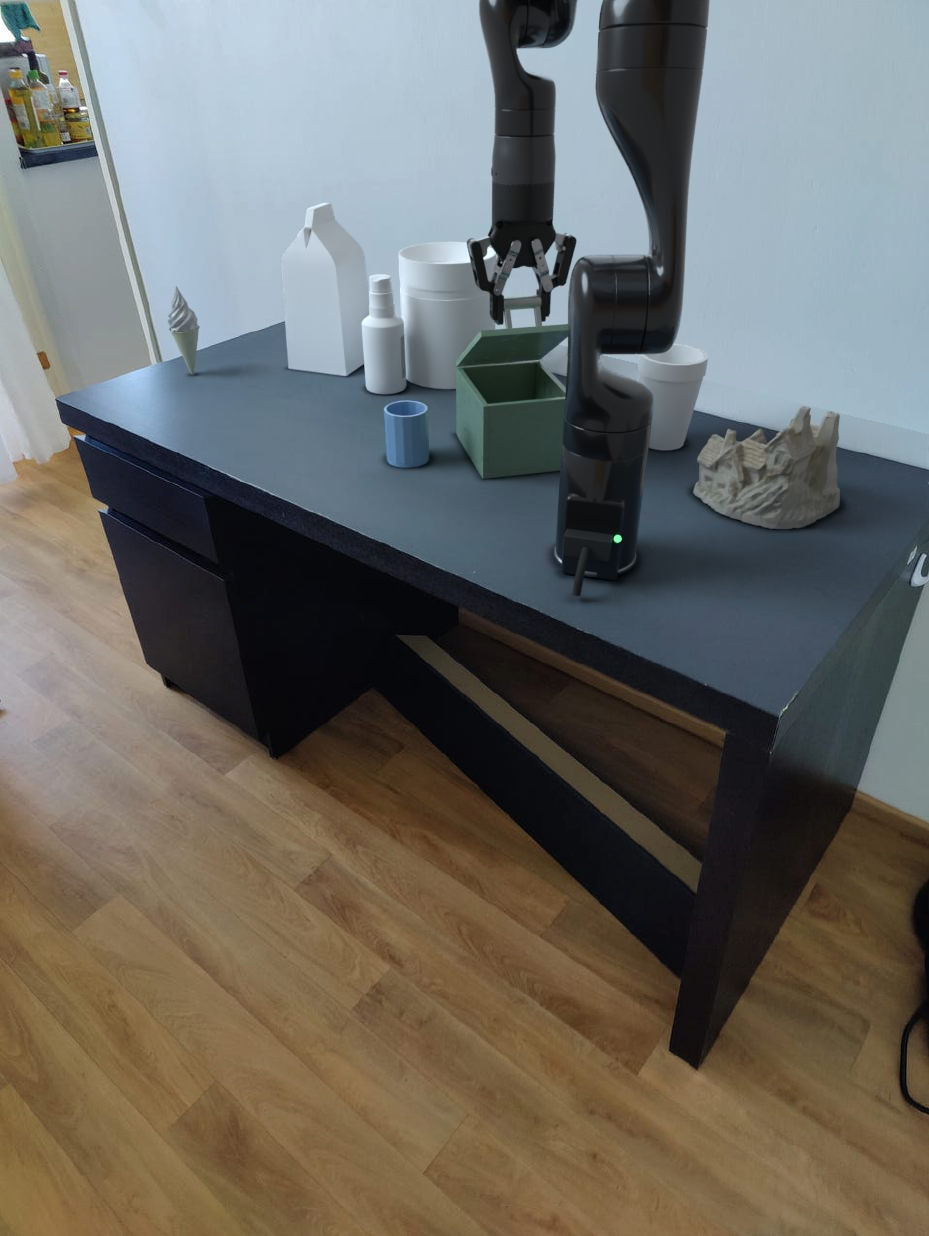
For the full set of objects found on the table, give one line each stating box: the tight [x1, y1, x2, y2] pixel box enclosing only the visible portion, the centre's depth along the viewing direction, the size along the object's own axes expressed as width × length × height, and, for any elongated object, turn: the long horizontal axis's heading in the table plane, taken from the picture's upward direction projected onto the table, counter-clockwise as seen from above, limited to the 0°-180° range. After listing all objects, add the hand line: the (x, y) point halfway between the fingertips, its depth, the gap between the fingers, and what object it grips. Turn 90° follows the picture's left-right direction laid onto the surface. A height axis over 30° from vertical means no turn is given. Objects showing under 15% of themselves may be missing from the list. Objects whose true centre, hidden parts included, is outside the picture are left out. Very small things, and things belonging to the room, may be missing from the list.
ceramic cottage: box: [692, 405, 841, 530], centre depth 111 cm, size 16×16×15 cm
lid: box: [456, 294, 568, 367], centre depth 120 cm, size 16×13×5 cm
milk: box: [280, 202, 370, 377], centre depth 153 cm, size 12×12×26 cm
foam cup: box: [637, 343, 709, 451], centre depth 127 cm, size 10×9×13 cm
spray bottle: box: [362, 273, 407, 395], centre depth 144 cm, size 7×7×18 cm
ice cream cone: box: [167, 285, 200, 376], centre depth 151 cm, size 5×5×15 cm
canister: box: [397, 241, 497, 390], centre depth 150 cm, size 16×16×20 cm
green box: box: [455, 360, 566, 480], centre depth 125 cm, size 16×13×10 cm
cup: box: [383, 399, 430, 469], centre depth 124 cm, size 6×6×8 cm
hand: (519, 321), depth 115 cm, fingers closed on lid, 5 cm apart
